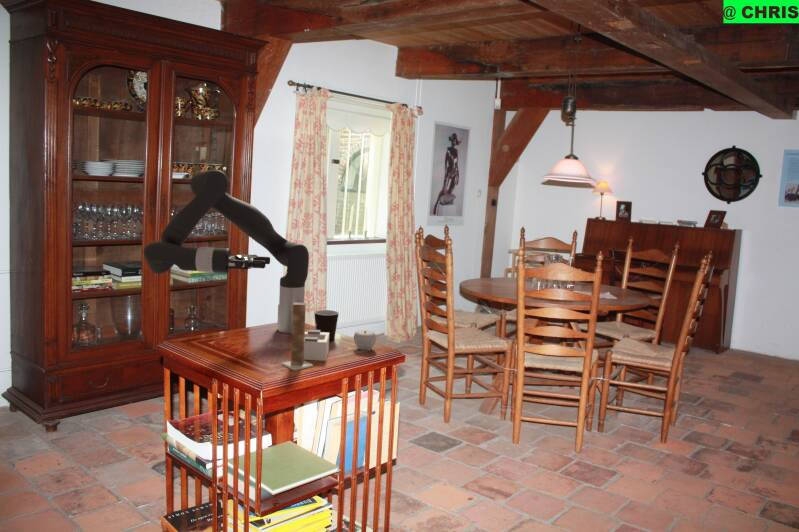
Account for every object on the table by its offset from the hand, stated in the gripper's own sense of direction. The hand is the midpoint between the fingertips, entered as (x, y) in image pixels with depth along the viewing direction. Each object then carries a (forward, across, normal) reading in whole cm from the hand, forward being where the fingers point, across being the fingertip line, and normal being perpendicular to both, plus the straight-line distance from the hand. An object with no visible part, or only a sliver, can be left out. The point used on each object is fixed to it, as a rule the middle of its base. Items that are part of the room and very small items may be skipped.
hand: (267, 262), depth 197 cm
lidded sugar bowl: (+30, +22, +32) cm, 49 cm away
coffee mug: (+16, +34, +32) cm, 49 cm away
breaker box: (+13, +13, +32) cm, 37 cm away
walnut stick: (+10, -1, +31) cm, 33 cm away
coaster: (+10, 0, +32) cm, 33 cm away
